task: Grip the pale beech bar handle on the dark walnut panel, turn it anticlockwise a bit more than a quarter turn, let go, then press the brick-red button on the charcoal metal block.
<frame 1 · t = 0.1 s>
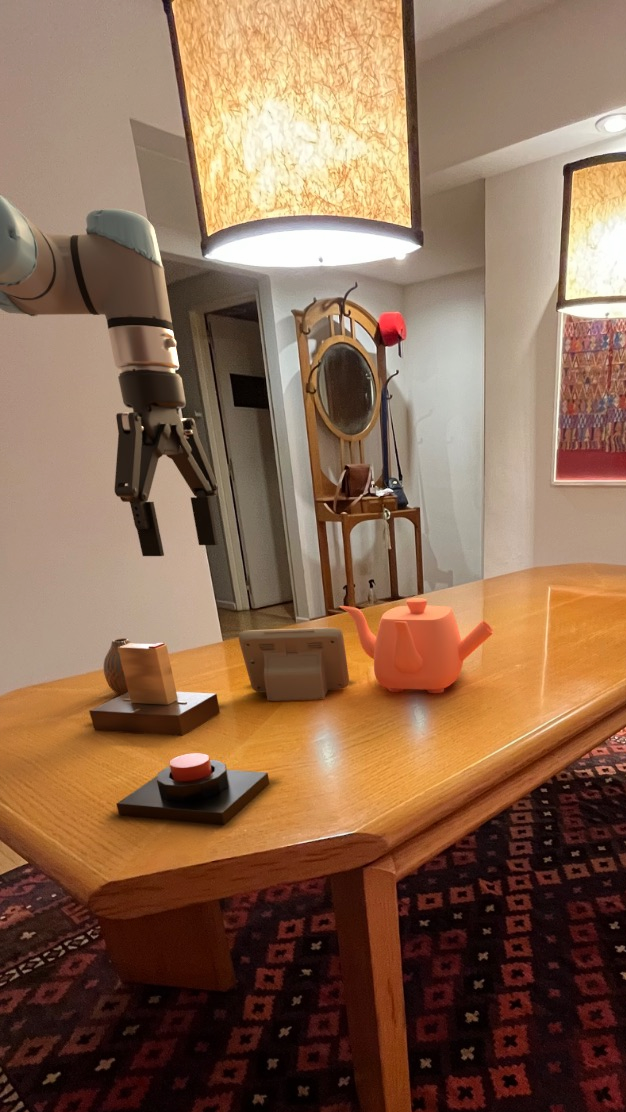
hand: (182, 550, 94), 23 cm above the table, tool pointing down, fingers open, 13 cm apart
handle: (148, 673, 95), point 7 cm above the table, hinge at 0.0°
digital clock: (299, 694, 109), on the table
teapot: (418, 686, 112), on the table
button: (191, 767, 71), point 4 cm above the table, slide at 0.1 cm
vase: (133, 694, 111), on the table
panel: (159, 721, 98), on the table
button block: (199, 805, 73), on the table
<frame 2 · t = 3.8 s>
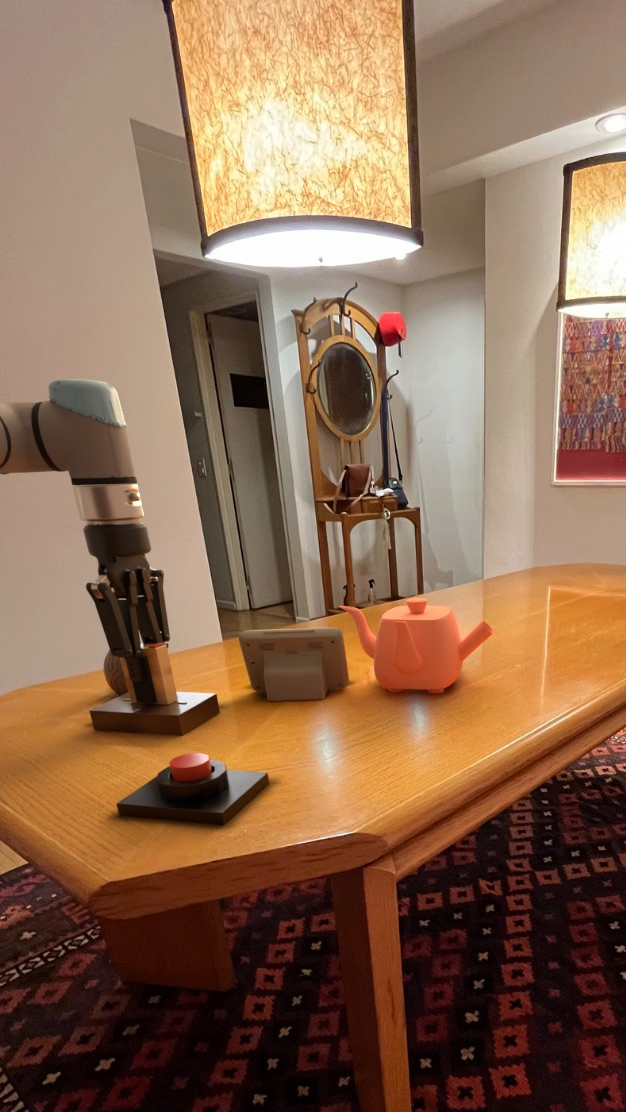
hand: (153, 698, 97), 4 cm above the table, tool pointing down, fingers closed on handle, 2 cm apart
handle: (148, 673, 95), point 7 cm above the table, hinge at 0.2°, touching gripper
everything else where it was.
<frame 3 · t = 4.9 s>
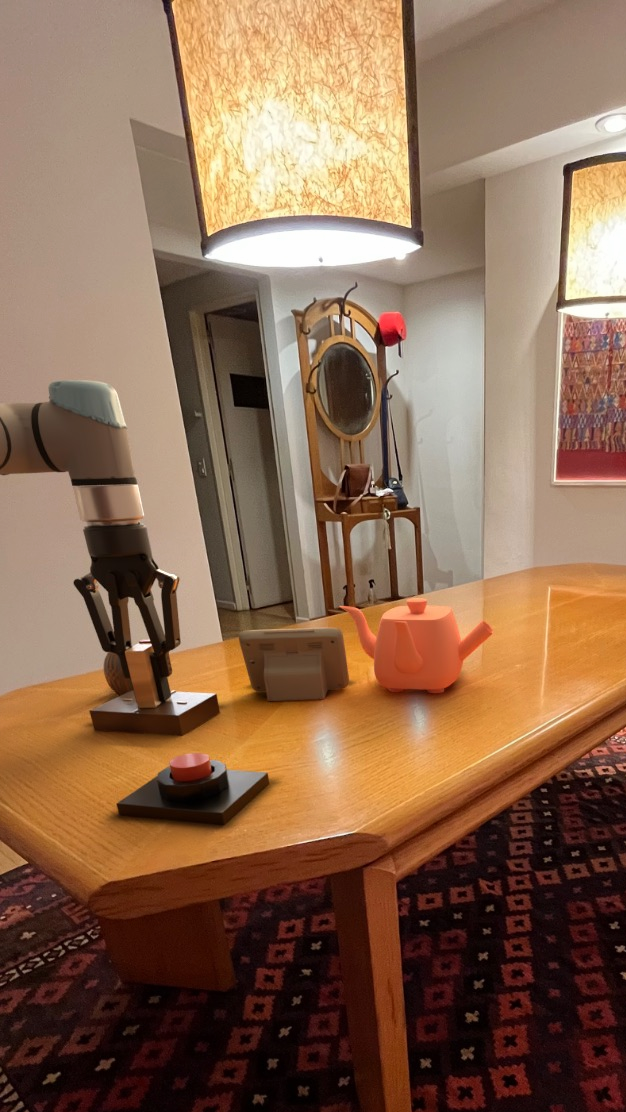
hand: (154, 698, 97), 3 cm above the table, tool pointing down, fingers open, 3 cm apart
handle: (148, 673, 95), point 7 cm above the table, hinge at 104.4°
everything else where it was.
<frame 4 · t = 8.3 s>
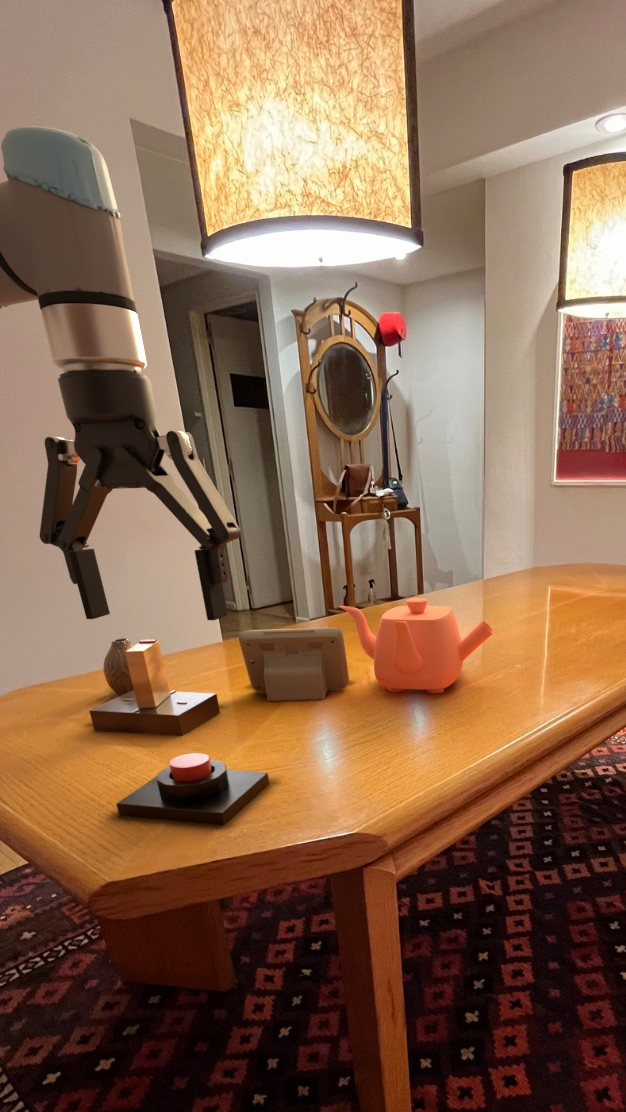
hand: (157, 617, 69), 19 cm above the table, tool pointing down, fingers open, 13 cm apart
nothing on the table moved.
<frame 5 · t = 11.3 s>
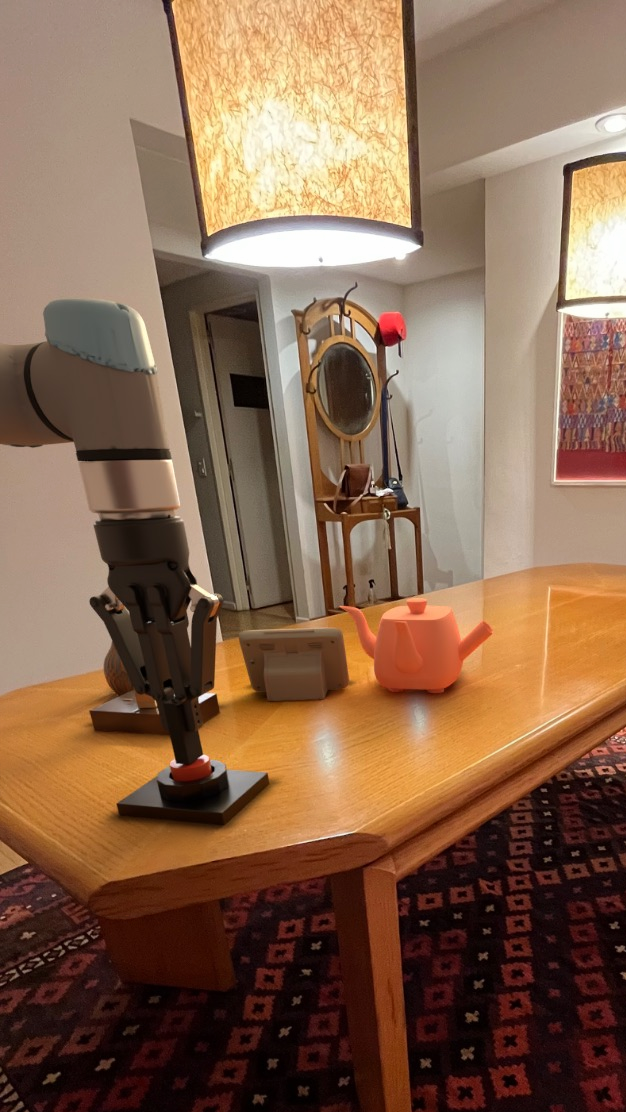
hand: (189, 758, 70), 6 cm above the table, tool pointing down, fingers closed
button: (191, 768, 71), point 4 cm above the table, slide at 0.0 cm, touching gripper
everything else where it was.
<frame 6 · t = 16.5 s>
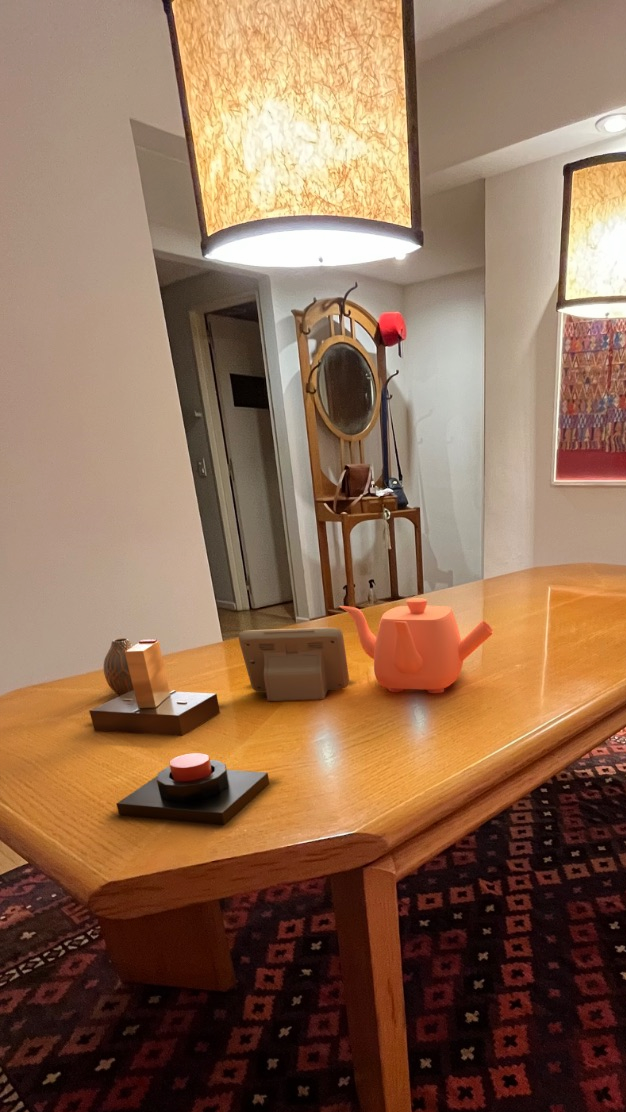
button: (191, 767, 71), point 4 cm above the table, slide at 0.1 cm
everything else where it was.
at the end: handle at +104° (first picture: +0°); button pushed in 1.0 cm at the most during the clip, back to where it started at the end; button slide at 0.1 cm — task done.
